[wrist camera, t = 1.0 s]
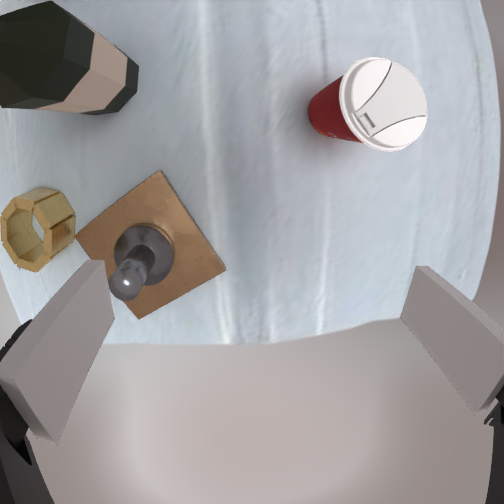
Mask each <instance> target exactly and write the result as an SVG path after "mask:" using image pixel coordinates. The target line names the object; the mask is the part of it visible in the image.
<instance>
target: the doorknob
mask: <svg viewBox="0 0 504 504" xmlns="http://www.w3.org/2000/svg"><path fill="white" fill-rule="evenodd" d="M75 237H76V239H77V240H78V242H79V243H80V245H81V246H82V248H83V249H84V250H85V252H86V253H87V255H88V256H89V257H90V259H91V260H104V262H105V269H106V275H107V281H108V285H109V289H110V291H111V293H112V294H113V295H114V296H115V297H116V298H118V299H120V300H123V302H124V303H125V304H126V305H127V306H128V308H129V309H130V310H131V311H132V312H133V314H134V315H135V316H136V317H137V318H138V319H141V318H143V317H144V316H146V315H148V314H150V313H152V312H153V311H155V310H157V309H159V308H160V307H162V306H164V305H166V304H168V303H169V302H171V301H173V300H175V299H176V298H178V297H180V296H182V295H184V294H185V293H187V292H189V291H191V290H192V289H194V288H196V287H198V286H200V285H201V284H203V283H205V282H207V281H208V280H210V279H212V278H214V277H215V276H217V275H219V274H221V273H223V272H224V271H226V267H225V265H224V264H223V263H222V261H221V260H220V258H219V257H218V255H217V254H216V252H215V251H214V249H213V248H212V246H211V245H210V243H209V242H208V240H207V239H206V237H205V236H204V234H203V233H202V231H201V230H200V228H199V227H198V225H197V224H196V222H195V221H194V219H193V218H192V216H191V215H190V213H189V212H188V210H187V209H186V207H185V206H184V204H183V203H182V201H181V200H180V198H179V197H178V195H177V194H176V192H175V190H174V189H173V187H172V186H171V184H170V183H169V181H168V180H167V178H166V177H165V175H164V173H163V172H162V170H160V171H158V172H157V173H155V174H154V175H152V176H151V177H149V178H148V179H147V180H145V181H144V182H142V183H141V184H140V185H138V186H137V187H136V188H134V189H133V190H131V191H130V192H129V193H127V194H126V195H125V196H123V197H122V198H121V199H119V200H118V201H117V202H116V203H114V204H113V205H112V206H110V207H109V208H108V209H107V210H105V211H104V212H103V213H102V214H100V215H99V216H98V217H97V218H95V219H94V220H93V221H92V222H91V223H89V224H88V225H87V226H86V227H85V228H83V229H82V230H81V231H80V232H79V233H78V234H76V235H75Z"/></svg>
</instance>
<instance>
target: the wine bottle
mask: <svg viewBox="0 0 504 504" xmlns="http://www.w3.org/2000/svg"><path fill="white" fill-rule="evenodd" d="M138 71H139V66H138V65H137V64H136V63H135V62H134V61H132V60H131V59H130V58H129V57H128V56H127V55H126V54H125V53H123V52H122V51H121V50H120V49H118V48H117V47H116V46H114V45H113V44H112V43H110V42H109V41H108V40H107V39H105V38H104V37H102V36H101V35H100V34H98V33H97V32H96V31H94V30H93V29H92V28H90V27H89V26H87V25H86V24H85V23H83V22H82V21H80V20H79V19H78V18H76V17H75V16H73V15H72V14H70V13H69V12H67V11H66V10H65V9H63V8H62V7H60V6H59V5H57V4H56V3H54V2H53V1H47V2H43V3H39V4H35V5H32V6H28V7H25V8H22V9H19V10H16V11H13V12H10V13H7V14H4V15H1V16H0V105H1V107H2V108H20V109H37V110H51V111H62V112H71V113H80V114H88V115H99V114H107V113H115V112H118V111H119V110H120V109H121V108H122V107H123V106H124V105H125V104H126V103H127V102H128V101H129V99H130V98H131V97H132V96H133V95H134V94H135V93H136V92H137V83H138Z"/></svg>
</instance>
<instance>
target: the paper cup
mask: <svg viewBox="0 0 504 504" xmlns="http://www.w3.org/2000/svg"><path fill="white" fill-rule="evenodd" d="M308 116H309V120H310V122H311V124H312V126H313V127H314V128H315V129H316V130H317V131H318V132H320V133H321V134H323V135H326V136H329V137H333V138H339V139H344V140H349V141H355V142H360V143H365V144H366V145H368V146H370V147H372V148H374V149H377V150H380V151H387V152H390V151H397V150H401V149H403V148H405V147H407V146H408V145H409V144H411V143H412V142H413V141H415V140H416V139H417V138H418V137H419V136H420V134H421V133H422V131H423V129H424V127H425V125H426V121H427V117H425V116H427V102H426V98H425V94H424V92H423V89H422V87H421V85H420V84H419V82H418V80H417V79H416V78H415V76H414V75H413V74H412V73H411V72H410V71H408V70H407V69H406V68H405V67H403V66H401V65H399V64H397V63H395V62H393V61H391V60H388V59H385V58H381V57H367V58H364V59H361V60H359V61H357V62H355V63H354V64H352V65H351V66H350V67H349V68H348V69H347V71H346V72H345V74H344V75H343V76H341V77H340V78H338V79H337V80H335V81H334V82H333V83H331V84H330V85H328V86H327V87H326V88H324V89H323V90H322V91H320V92H319V93H318V94H316V95H315V96H314V97H313V99H312V100H311V102H310V104H309V108H308Z"/></svg>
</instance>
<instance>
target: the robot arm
mask: <svg viewBox="0 0 504 504" xmlns="http://www.w3.org/2000/svg"><path fill="white" fill-rule="evenodd" d="M400 318H401V320H402V321H403V322H404V323H405V324H406V326H407V327H408V328H409V329H410V331H411V332H412V333H413V334H414V335H415V336H416V338H417V339H418V340H419V342H420V343H421V344H422V345H423V347H424V348H425V349H426V350H427V352H428V353H429V354H430V356H431V357H432V358H433V359H434V361H435V362H436V363H437V365H438V366H439V367H440V368H441V370H442V371H443V372H444V374H445V375H446V376H447V378H448V379H449V380H450V382H451V383H452V384H453V386H454V387H455V389H456V390H457V391H458V393H459V394H460V395H461V397H462V398H463V400H464V401H465V403H466V404H467V405H468V407H469V408H470V410H471V411H472V412H473V414H474V415H477V414H479V413H481V412H483V411H484V410H486V409H487V408H488V407H489V406H490V404H491V403H492V402H493V400H494V399H495V397H496V398H497V400H498V401H499V402H498V403H497V405H496V406H495V407H494V409H493V410H492V411H491V413H490V414H489V415H488V416H487V418H486V419H485V421H484V424H486V423H487V422H488V421H489V420H490V419H491V418H493V420H492V421H491V422H490V423H489V425H490V426H494V438H493V454H492V464H491V473H490V481H489V487H488V493H487V498H486V503H485V504H504V330H503V329H502V328H501V327H500V326H499V325H497V324H496V323H495V322H494V321H493V320H492V319H491V318H490V317H489V316H487V315H486V314H485V313H484V312H483V311H482V310H481V309H479V308H478V307H477V306H476V305H475V304H474V303H473V302H472V301H470V300H469V299H468V298H467V297H466V296H465V295H463V294H462V293H461V292H460V291H459V290H457V289H456V288H455V287H454V286H452V285H451V284H450V283H449V282H447V281H446V280H445V279H444V278H442V277H441V276H440V275H439V274H437V273H436V272H435V271H434V270H432V269H431V268H430V267H428V266H416V267H415V271H414V274H413V278H412V281H411V285H410V288H409V291H408V295H407V298H406V301H405V304H404V307H403V310H402V313H401V316H400ZM114 319H115V318H114V313H113V308H112V303H111V298H110V293H109V287H108V281H107V275H106V269H105V262H104V260H87V261H86V262H85V263H84V264H83V265H82V266H81V267H80V268H79V269H78V270H77V271H76V272H75V273H74V274H73V275H72V276H71V278H70V279H69V280H68V281H67V282H66V283H65V284H64V285H63V286H62V287H61V288H60V289H59V291H58V292H57V293H56V294H55V295H54V296H53V297H52V298H51V299H50V301H49V302H48V303H47V304H46V305H45V306H44V308H43V309H42V310H41V311H40V312H39V313H38V315H37V316H36V317H35V318H34V319H33V320H32V319H30V320H29V321H27V322H26V323H24V324H23V325H21V326H20V327H19V328H18V329H17V330H16V331H15V332H14V334H13V335H12V336H11V339H9V340H8V341H7V343H6V344H5V347H2V349H1V350H0V504H54V502H53V499H52V497H51V495H50V493H49V491H48V489H47V486H46V484H45V482H44V479H43V477H42V475H41V472H40V470H39V467H38V464H37V462H36V459H35V456H34V453H33V450H32V447H31V445H30V442H29V440H28V438H27V436H26V435H25V434H26V432H27V430H28V428H30V430H31V431H32V432H33V433H34V435H35V436H36V437H37V438H38V439H40V440H43V441H46V442H48V443H52V444H55V445H58V443H59V440H60V438H61V435H62V433H63V430H64V428H65V425H66V423H67V420H68V418H69V415H70V413H71V410H72V408H73V406H74V403H75V401H76V399H77V396H78V394H79V392H80V389H81V387H82V385H83V383H84V381H85V378H86V376H87V374H88V372H89V370H90V368H91V365H92V363H93V361H94V359H95V357H96V355H97V353H98V351H99V349H100V347H101V345H102V343H103V341H104V339H105V337H106V335H107V333H108V331H109V329H110V327H111V325H112V323H113V321H114Z"/></svg>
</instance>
